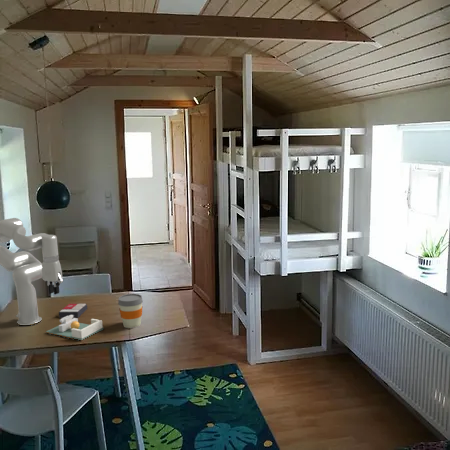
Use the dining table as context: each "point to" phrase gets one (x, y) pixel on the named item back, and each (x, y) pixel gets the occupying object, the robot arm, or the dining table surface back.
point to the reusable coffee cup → (130, 309)
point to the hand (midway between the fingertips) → (54, 292)
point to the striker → (66, 323)
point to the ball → (75, 325)
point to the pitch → (70, 331)
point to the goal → (87, 329)
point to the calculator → (73, 310)
